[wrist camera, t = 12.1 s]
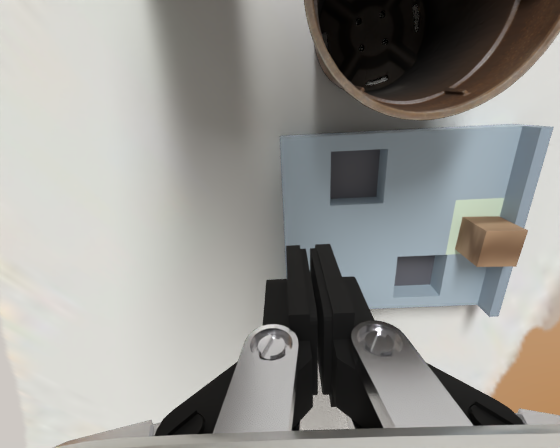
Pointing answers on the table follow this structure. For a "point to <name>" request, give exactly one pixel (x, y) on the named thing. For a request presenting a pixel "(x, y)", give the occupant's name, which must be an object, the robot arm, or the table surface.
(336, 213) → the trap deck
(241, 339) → the table surface
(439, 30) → the plant pot
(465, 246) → the walnut cube
